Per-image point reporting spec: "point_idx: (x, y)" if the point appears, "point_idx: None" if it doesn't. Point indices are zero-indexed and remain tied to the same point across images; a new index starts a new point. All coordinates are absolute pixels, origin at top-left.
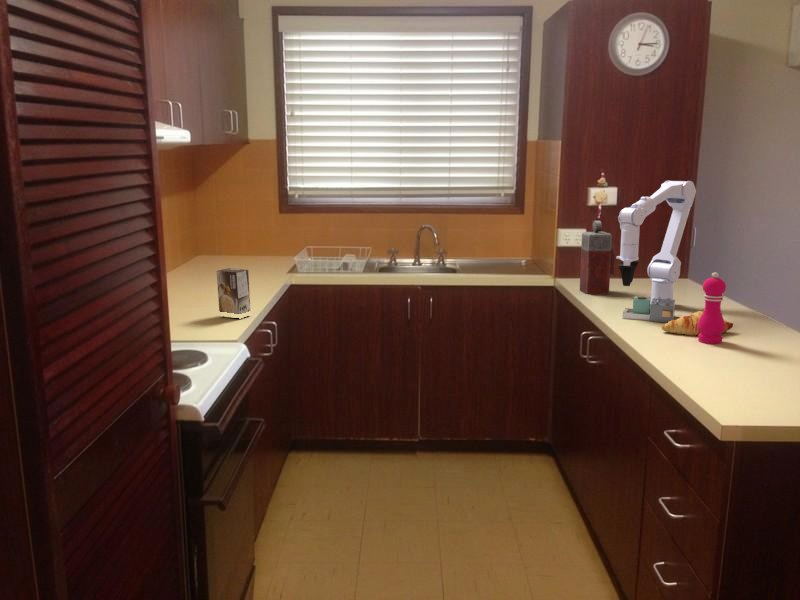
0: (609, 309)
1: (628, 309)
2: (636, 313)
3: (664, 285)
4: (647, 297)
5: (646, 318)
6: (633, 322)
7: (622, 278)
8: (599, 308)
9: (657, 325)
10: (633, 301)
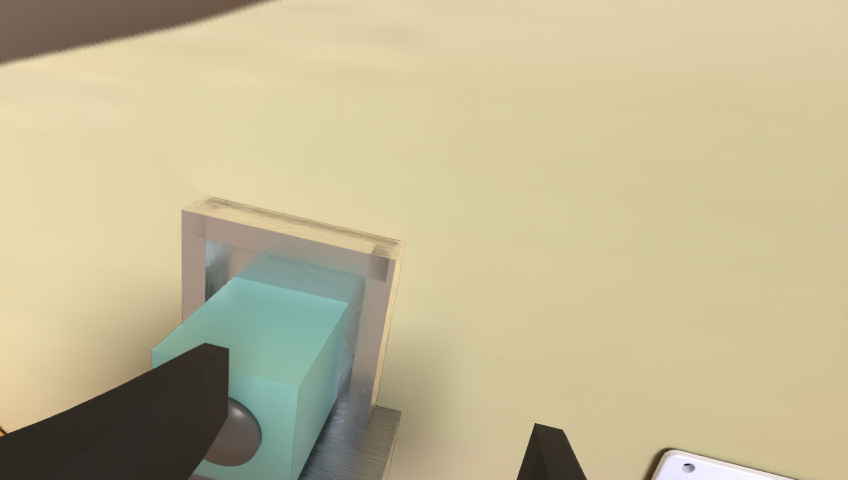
0: (553, 124)
1: (367, 276)
2: (197, 308)
3: None
4: (277, 475)
5: None
6: (107, 254)
7: (104, 397)
8: (596, 22)
9: (87, 375)
10: (166, 338)
